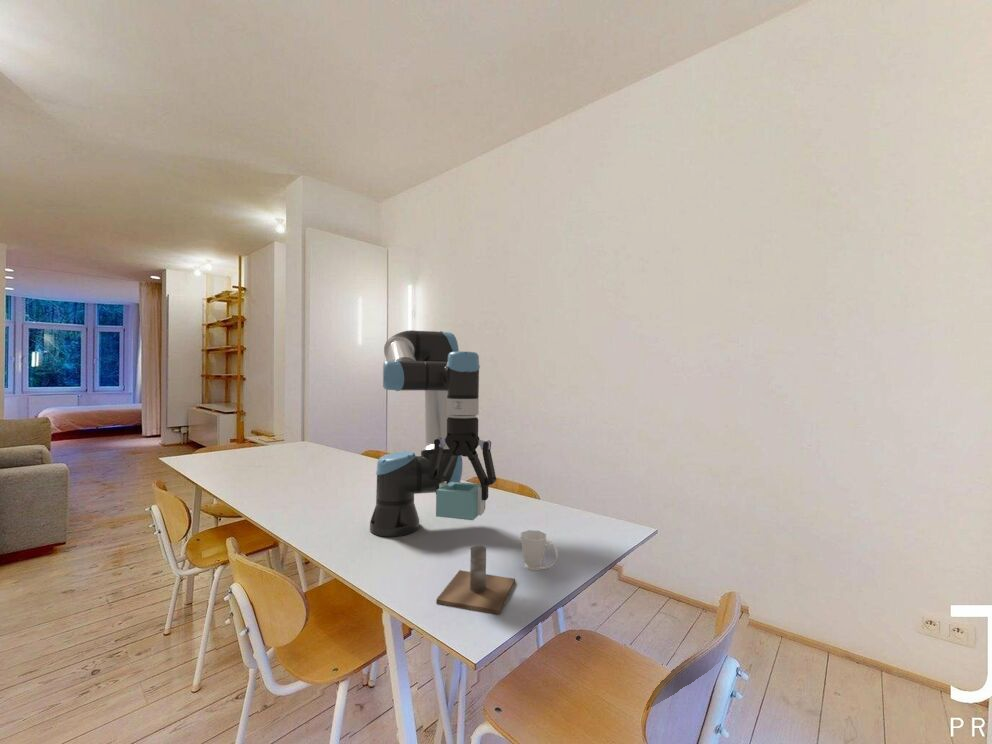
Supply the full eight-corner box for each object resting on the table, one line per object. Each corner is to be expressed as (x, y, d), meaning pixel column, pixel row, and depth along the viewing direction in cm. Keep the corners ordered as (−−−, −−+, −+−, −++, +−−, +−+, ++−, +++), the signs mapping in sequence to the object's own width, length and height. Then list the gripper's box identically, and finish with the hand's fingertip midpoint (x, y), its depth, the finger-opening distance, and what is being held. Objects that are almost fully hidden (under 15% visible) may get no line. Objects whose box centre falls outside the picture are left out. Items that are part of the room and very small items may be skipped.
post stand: (436, 603, 91) (437, 557, 91) (459, 573, 104) (460, 533, 104) (499, 614, 87) (500, 566, 87) (515, 582, 100) (515, 540, 100)
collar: (435, 516, 97) (436, 490, 98) (451, 505, 106) (451, 481, 106) (472, 520, 95) (473, 493, 95) (485, 509, 103) (485, 484, 104)
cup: (525, 558, 113) (526, 528, 113) (561, 566, 109) (562, 535, 109) (514, 568, 107) (515, 536, 107) (552, 578, 102) (553, 545, 102)
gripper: (414, 416, 100) (412, 511, 100) (502, 419, 94) (501, 521, 94) (428, 413, 108) (426, 503, 107) (510, 416, 101) (509, 511, 101)
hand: (461, 511), depth 100 cm, fingers closed on collar, 9 cm apart
